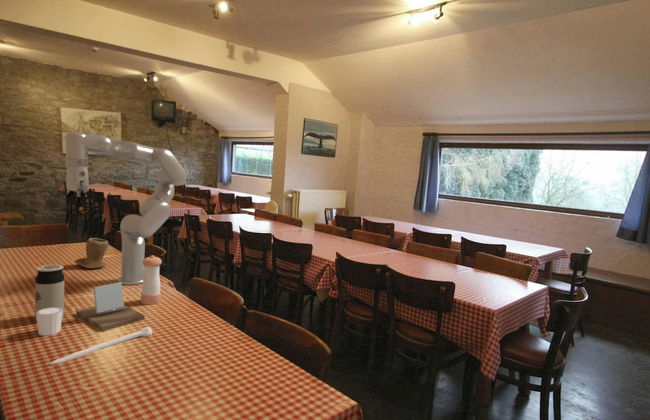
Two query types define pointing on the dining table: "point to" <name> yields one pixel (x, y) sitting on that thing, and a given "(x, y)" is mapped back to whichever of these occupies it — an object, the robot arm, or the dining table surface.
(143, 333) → the white nail
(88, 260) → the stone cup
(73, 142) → the robot arm
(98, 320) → the board
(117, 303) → the tile
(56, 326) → the white cup
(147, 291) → the salt shaker
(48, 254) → the dining table surface
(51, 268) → the travel mug
